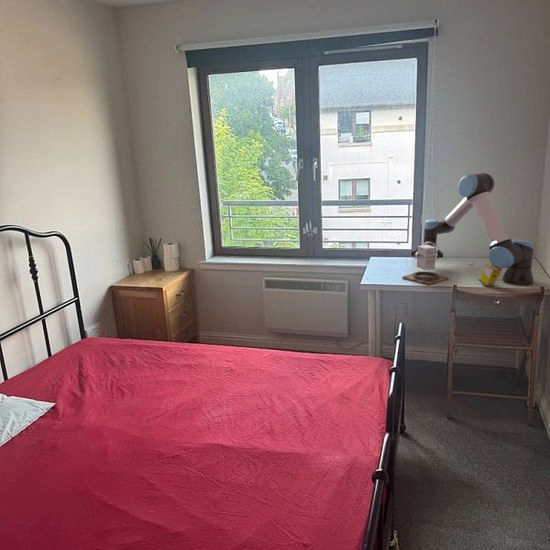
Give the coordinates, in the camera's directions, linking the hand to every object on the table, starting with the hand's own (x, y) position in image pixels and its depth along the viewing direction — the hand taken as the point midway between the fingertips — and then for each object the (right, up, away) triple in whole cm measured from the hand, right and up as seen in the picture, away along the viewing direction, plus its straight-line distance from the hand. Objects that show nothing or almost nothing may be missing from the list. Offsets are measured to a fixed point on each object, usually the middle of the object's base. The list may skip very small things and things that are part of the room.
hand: (425, 257), depth 272 cm
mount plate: (+2, -12, +7) cm, 14 cm away
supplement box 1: (+2, -6, +7) cm, 9 cm away
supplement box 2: (+30, -14, -6) cm, 34 cm away
